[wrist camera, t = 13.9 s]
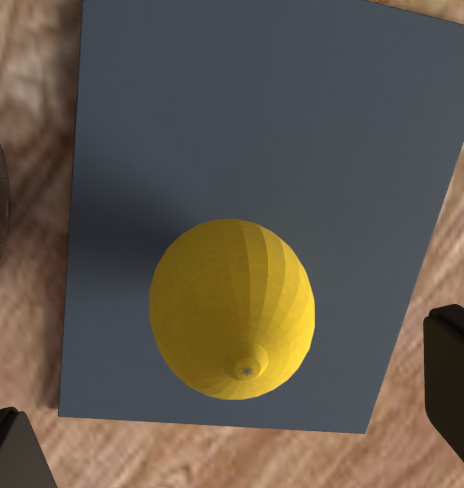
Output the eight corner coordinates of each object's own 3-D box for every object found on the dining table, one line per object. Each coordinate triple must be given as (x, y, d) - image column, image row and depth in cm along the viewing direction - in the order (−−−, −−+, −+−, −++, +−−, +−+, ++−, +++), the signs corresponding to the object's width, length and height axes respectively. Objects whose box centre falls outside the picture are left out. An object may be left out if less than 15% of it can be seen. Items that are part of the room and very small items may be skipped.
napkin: (60, 411, 20) (57, 416, 19) (88, -65, 14) (86, -70, 13) (362, 428, 22) (365, 434, 22) (493, 35, 16) (500, 33, 16)
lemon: (133, 283, 18) (97, 412, 10) (197, 173, 16) (211, 227, 9) (239, 334, 19) (277, 482, 12) (305, 237, 18) (395, 330, 10)
